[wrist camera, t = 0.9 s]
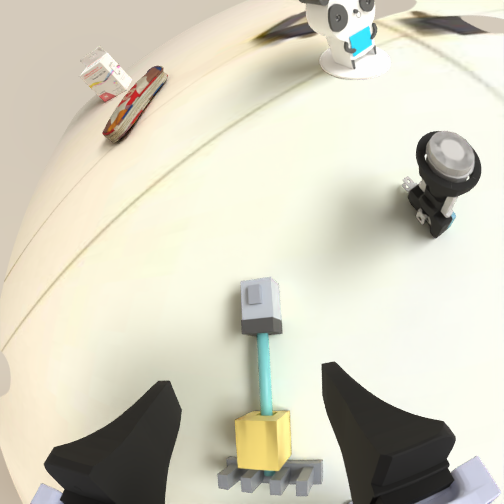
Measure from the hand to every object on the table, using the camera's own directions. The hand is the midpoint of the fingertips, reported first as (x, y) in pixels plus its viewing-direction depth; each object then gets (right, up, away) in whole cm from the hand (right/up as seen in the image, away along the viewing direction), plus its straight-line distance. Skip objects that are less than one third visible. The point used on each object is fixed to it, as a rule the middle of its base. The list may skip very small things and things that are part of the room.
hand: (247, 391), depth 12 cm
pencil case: (-22, +36, +38) cm, 57 cm away
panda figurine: (+16, +36, +22) cm, 45 cm away
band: (+2, -1, +14) cm, 14 cm away
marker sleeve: (+2, -10, +10) cm, 14 cm away
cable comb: (+2, -14, +8) cm, 16 cm away
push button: (+17, +11, +12) cm, 23 cm away
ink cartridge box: (-35, +49, +47) cm, 76 cm away
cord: (+2, -6, +11) cm, 13 cm away
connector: (+2, +2, +14) cm, 15 cm away
